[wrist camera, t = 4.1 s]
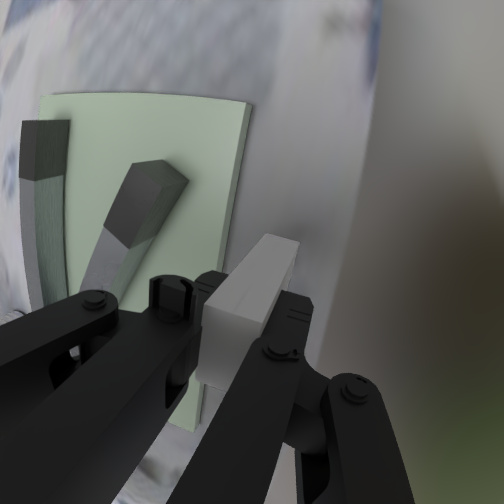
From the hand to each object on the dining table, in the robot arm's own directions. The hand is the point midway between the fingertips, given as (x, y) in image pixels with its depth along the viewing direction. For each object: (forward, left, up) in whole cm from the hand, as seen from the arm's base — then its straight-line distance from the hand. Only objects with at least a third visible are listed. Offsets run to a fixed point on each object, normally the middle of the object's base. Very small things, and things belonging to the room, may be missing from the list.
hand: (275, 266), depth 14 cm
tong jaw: (-10, -5, -3) cm, 12 cm away
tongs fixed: (-16, -7, -3) cm, 18 cm away
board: (-12, -6, -4) cm, 14 cm away
